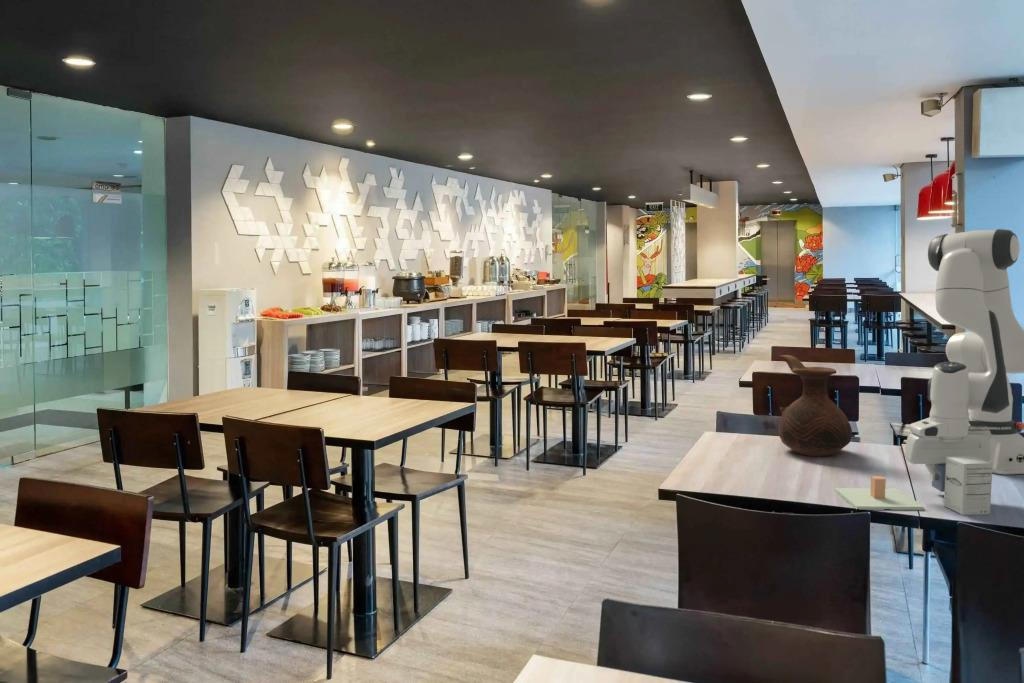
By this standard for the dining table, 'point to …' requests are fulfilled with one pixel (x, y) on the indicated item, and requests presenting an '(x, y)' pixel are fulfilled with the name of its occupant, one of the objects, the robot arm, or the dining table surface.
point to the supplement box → (968, 485)
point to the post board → (878, 504)
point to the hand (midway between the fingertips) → (947, 479)
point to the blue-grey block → (940, 477)
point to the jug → (813, 415)
